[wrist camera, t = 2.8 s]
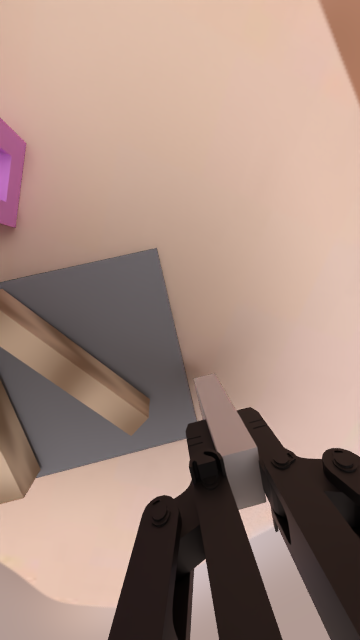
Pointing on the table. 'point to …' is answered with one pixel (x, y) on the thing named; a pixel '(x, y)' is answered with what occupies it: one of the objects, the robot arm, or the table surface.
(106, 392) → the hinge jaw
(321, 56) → the table surface
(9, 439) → the tongs base
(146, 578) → the robot arm
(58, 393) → the mat
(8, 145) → the bracket
